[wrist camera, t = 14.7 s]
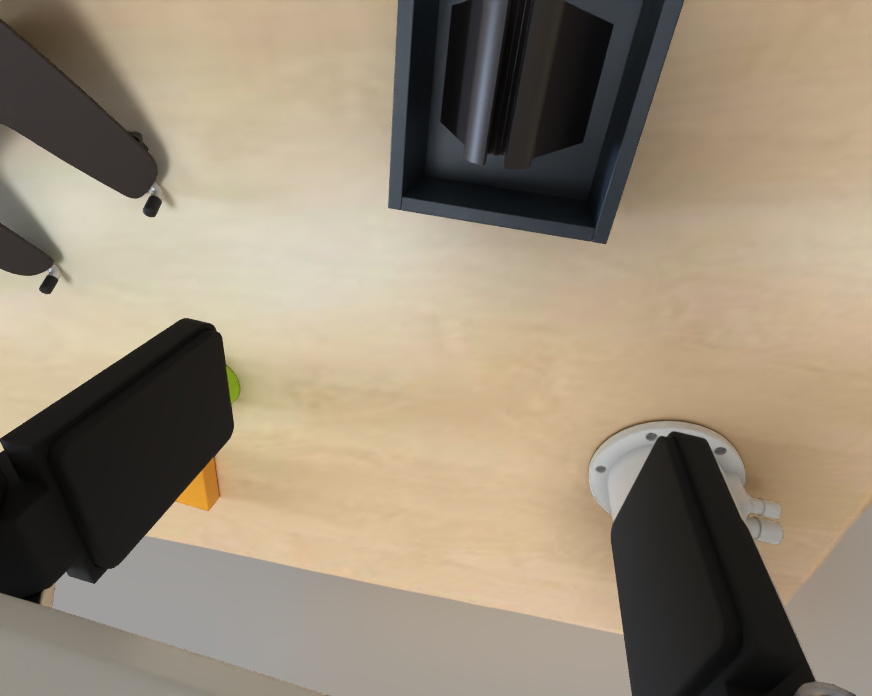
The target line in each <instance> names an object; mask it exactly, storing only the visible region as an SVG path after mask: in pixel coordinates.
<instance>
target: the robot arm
mask: <svg viewBox="0 0 872 696" xmlns="http://www.w3.org/2000/svg"><path fill="white" fill-rule="evenodd" d="M233 429H234V421H233V414H232V406H231V399H230V392H229V385H228V377H227V370H226V363H225V355H224V348H223V341H222V336H221V334H220V333H218V332H217V331H216V328H215V327H214V325H212V324H210V323H206V322H202V321H197V320H193V319H189V318H183V319H181V320H179V321H178V322H176V323H175V324H173V325H172V326H170V327H169V328H167V329H166V330H164V331H162V332H161V333H159V334H158V335H156V336H155V337H153V338H152V339H150V340H149V341H147V342H146V343H144V344H143V345H141V346H140V347H138V348H137V349H135V350H134V351H132V352H131V353H129V354H128V355H126V356H125V357H123V358H122V359H120V360H119V361H117V362H116V363H114V364H112V365H111V366H109V367H108V368H106V369H105V370H103V371H102V372H100V373H99V374H97V375H96V376H94V377H93V378H91V379H90V380H88V381H87V382H85V383H84V384H82V385H81V386H79V387H78V388H76V389H75V390H73V391H72V392H70V393H69V394H67V395H65V396H64V397H62V398H61V399H59V400H58V401H56V402H55V403H53V404H52V405H50V406H49V407H47V408H46V409H44V410H43V411H41V412H40V413H38V414H37V415H35V416H34V417H32V418H31V419H29V420H28V421H26V422H25V423H23V424H22V425H20V426H19V427H17V428H15V429H14V430H12V431H11V432H9V433H8V434H6V435H5V436H3V437H2V438H0V442H1V444H2V446H3V448H4V451H2V452H1V453H0V696H329V695H326V694H323V693H320V692H317V691H314V690H311V689H308V688H304V687H301V686H298V685H295V684H292V683H289V682H285V681H282V680H279V679H276V678H273V677H270V676H266V675H264V674H260V673H257V672H254V671H251V670H248V669H245V668H241V667H238V666H235V665H232V664H229V663H226V662H223V661H219V660H216V659H213V658H210V657H206V656H204V655H200V654H197V653H194V652H191V651H188V650H185V649H181V648H178V647H175V646H172V645H168V644H165V643H162V642H159V641H156V640H153V639H149V638H146V637H143V636H140V635H137V634H133V633H130V632H127V631H124V630H120V629H117V628H114V627H111V626H107V625H105V624H101V623H98V622H95V621H91V620H89V619H85V618H82V617H78V616H76V615H72V614H69V613H66V612H63V611H60V610H56V609H53V608H52V604H53V597H54V590H55V583H56V581H57V580H58V579H59V578H60V577H61V576H62V575H63V574H64V573H65V572H67V574H68V575H69V576H71V577H74V578H78V579H80V580H84V581H87V582H90V583H93V584H95V583H96V582H97V581H98V579H99V578H100V577H101V576H102V575H103V574H104V573H105V572H106V570H107V569H111V568H114V567H115V566H117V565H119V564H120V563H121V562H122V561H123V560H124V559H125V557H126V556H127V555H128V554H129V553H130V552H131V550H132V549H133V548H134V547H135V546H136V545H137V544H138V543H139V541H140V540H141V539H142V538H143V537H144V536H145V535H146V534H147V532H148V531H149V530H150V529H151V528H152V527H153V526H154V524H155V523H156V522H157V521H158V520H159V519H160V518H161V517H162V515H163V514H164V513H165V512H166V511H167V510H168V509H169V507H170V506H171V505H172V504H173V503H174V502H175V501H176V499H177V498H178V497H179V496H180V495H181V494H182V493H183V492H184V490H185V489H186V488H187V487H188V486H189V485H190V484H191V482H192V481H193V480H194V479H195V478H196V477H197V476H198V474H199V473H200V472H201V471H202V470H203V469H204V468H205V466H206V465H207V464H208V463H209V462H210V461H211V460H212V459H213V457H214V456H215V455H216V454H217V453H218V452H219V451H220V449H221V448H222V447H223V446H224V445H225V444H226V443H227V441H228V440H229V439H230V437H231V435H232V433H233ZM588 473H589V484H590V489H591V492H592V494H593V496H594V498H595V500H596V501H597V503H598V504H599V505H600V506H601V507H602V508H603V509H604V510H605V511H606V512H608V513H609V514H610V515H612V519H613V525H612V530H611V544H612V551H613V559H614V566H615V573H616V581H617V588H618V595H619V603H620V610H621V618H622V625H623V632H624V640H625V647H626V654H627V662H628V669H629V677H630V684H631V691H632V696H856V695H855V694H853V693H851V692H849V691H847V690H844V689H842V688H840V687H838V686H836V685H834V684H829V683H824V682H819V681H817V679H816V677H815V674H814V672H813V670H812V668H811V665H810V663H809V661H808V659H807V656H806V654H805V652H804V650H803V647H802V645H801V643H800V641H799V638H798V636H797V634H796V632H795V629H794V627H793V625H792V623H791V620H790V618H789V616H788V614H787V611H786V609H785V607H784V605H783V603H782V600H781V598H780V596H779V594H778V591H777V589H776V587H775V585H774V582H773V580H772V578H771V576H770V573H769V571H768V569H767V567H766V564H765V562H764V560H763V558H762V555H761V553H760V551H759V549H758V546H757V544H756V542H755V540H756V541H761V542H765V543H770V544H774V545H778V544H779V543H780V542H781V541H782V538H783V529H782V526H781V525H780V523H779V522H776V521H772V520H768V519H763V518H759V517H754V516H753V517H748V515H749V514H750V513H754V514H758V515H760V516H764V517H769V518H773V519H778V518H779V517H780V515H781V507H780V505H779V503H778V502H773V501H769V500H764V499H756V498H751V496H750V495H749V494H748V493H746V491H745V489H744V485H745V478H746V475H745V469H744V465H743V463H742V461H741V458H740V456H739V454H738V453H737V451H736V450H735V448H734V447H733V445H732V444H731V443H730V442H728V441H727V440H726V439H725V438H724V437H723V436H721V435H719V434H718V433H716V432H714V431H712V430H710V429H708V428H705V427H702V426H700V425H696V424H691V423H686V422H678V421H659V422H649V423H645V424H640V425H636V426H633V427H630V428H628V429H625V430H622V431H621V432H619V433H617V434H615V435H614V436H612V437H610V438H609V439H608V440H607V441H605V442H604V443H603V444H602V445H601V446H600V447H599V448H598V450H597V451H596V452H595V453H594V455H593V457H592V460H591V462H590V466H589V471H588Z"/></svg>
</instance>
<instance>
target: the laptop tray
mask: <svg viewBox="0 0 872 696" xmlns="http://www.w3.org/2000/svg"><path fill="white" fill-rule="evenodd" d="M0 123H1V124H4V125H6V126H8V127H10V128H12V129H13V130H15V131H17V132H18V133H20V134H22V135H23V136H25V137H26V138H28V139H30V140H31V141H33V142H34V143H36V144H37V145H39V146H41V147H42V148H44V149H45V150H47V151H49V152H50V153H52V154H54V155H55V156H57V157H58V158H60V159H62V160H63V161H65V162H67V163H68V164H70V165H72V166H74V167H75V168H77V169H79V170H80V171H82V172H84V173H86V174H87V175H89V176H91V177H93V178H94V179H96V180H98V181H100V182H102V183H103V184H105V185H107V186H109V187H110V188H112V189H114V190H116V191H118V192H119V193H121V194H123V195H125V196H127V197H130V198H140V197H142V196H143V195H144V194H145V193H147V191H148V190H149V191H150V192H151V196H150V197H149V198H148V200H147V202H146V204H145V206H144V208H143V213H144V214H145V215H146V216H148V217H155V216H156V214H157V212H158V210H159V208H160V206H161V204H162V200H163V192H162V190H161V188H160V187H159V185H158V184H157V183H156V182H155V180H156V178H157V174H158V170H157V165H156V163H155V161H154V159H153V157H152V156H151V154H150V153H149V152H148V147H147V146H146V145H145V144H144V143H143V139H142V135H141V134H140V133H139V132H130V131H127V130H126V129H124V128H123V127H122V126H121V125H120V124H119V123H118V122H117V121H116V120H115V119H114V118H113V117H111V116H110V115H109V114H108V113H107V112H106V111H105V110H104V109H103V108H102V107H101V106H100V105H98V104H97V103H96V102H95V101H94V100H93V99H92V98H91V97H90V96H89V95H87V94H86V93H85V92H84V91H83V90H82V89H81V88H80V87H79V86H77V85H76V84H75V83H74V82H73V81H72V80H71V79H70V78H68V77H67V76H66V75H65V74H64V73H63V72H62V71H61V70H59V69H58V68H57V67H56V66H55V65H54V64H53V63H52V62H50V61H49V60H48V59H47V58H46V57H45V56H44V55H42V54H41V53H40V52H39V51H38V50H37V49H36V48H34V47H33V46H32V45H31V44H30V43H29V42H27V41H26V40H25V39H24V38H23V37H22V36H20V35H19V34H18V33H17V32H16V31H14V30H13V29H12V28H11V27H10V26H9V25H7V24H6V23H5V22H4V21H3V20H2V19H0ZM0 269H2V270H5V271H7V272H10V273H13V274H17V275H24V276H32V275H37V274H40V273H42V272H45V271H46V270H48V271H49V274H48V275H47V276H46V278H45V280H44V281H43V283H42V285H41V286H40V288H39V290H40V291H41V292H42V293H44V294H50V293H51V292H52V290H53V289H54V287H55V285H56V284H57V282H58V279H59V278H60V275H61V274H60V270H59V268H58V267H57V266H56V265H55V264H54V261H53V259H52V258H51V257H50V256H49V255H47V254H46V253H44V252H43V251H41V250H40V249H38V248H37V247H36V246H34V245H33V244H31V243H30V242H28V241H27V240H25V239H24V238H22V237H21V236H19V235H18V234H16V233H15V232H13V231H12V230H10V229H9V228H7V227H6V226H4V225H3V224H1V223H0Z"/></svg>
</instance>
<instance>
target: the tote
mask: <svg viewBox="0 0 872 696" xmlns="http://www.w3.org/2000/svg"><path fill="white" fill-rule="evenodd" d="M464 1H467V0H398V14H397V35H396V56H395V76H394V97H393V117H392V138H391V158H390V179H389V199H388V208H391V209H397V210H403V211H409V212H415V213H421V214H427V215H433V216H439V217H445V218H451V219H458V220H464V221H470V222H476V223H482V224H488V225H494V226H500V227H506V228H512V229H518V230H524V231H530V232H536V233H542V234H548V235H554V236H560V237H566V238H572V239H578V240H584V241H592V242H596V243H602V244H606V243H607V240H608V237H609V234H610V230H611V227H612V224H613V221H614V218H615V215H616V212H617V209H618V205H619V202H620V199H621V196H622V193H623V190H624V187H625V184H626V180H627V177H628V174H629V171H630V168H631V165H632V162H633V158H634V155H635V152H636V149H637V146H638V143H639V140H640V137H641V133H642V130H643V127H644V124H645V121H646V118H647V115H648V112H649V108H650V105H651V102H652V99H653V96H654V93H655V90H656V87H657V83H658V80H659V77H660V74H661V71H662V68H663V65H664V62H665V58H666V55H667V52H668V49H669V46H670V43H671V40H672V37H673V33H674V30H675V27H676V24H677V21H678V18H679V15H680V12H681V8H682V5H683V2H684V0H565V1H566V2H568V3H570V4H572V5H574V6H576V7H578V8H580V9H582V10H584V11H586V12H589V13H591V14H593V15H595V16H597V17H599V18H601V19H603V20H605V21H607V22H610V23H612V24H614V26H613V30H612V34H611V37H610V41H609V45H608V49H607V53H606V57H605V60H604V64H603V68H602V72H601V76H600V80H599V83H598V87H597V91H596V95H595V99H594V102H593V106H592V110H591V114H590V118H589V122H588V125H587V129H586V133H585V137H584V141H583V143H581V144H577V145H574V146H571V147H568V148H565V149H561V150H558V151H555V152H552V153H549V154H546V155H542V156H539V157H536V158H533V159H532V163H531V167H530V168H527V169H505V168H503V167H504V161H505V157H503V156H500V155H490V154H487V159H486V165H479V164H475V163H472V162H469V161H467V160H465V159H464V158H463V153H464V144H463V143H462V142H461V141H460V140H459V139H457V138H456V137H455V136H454V135H453V134H452V133H451V132H450V131H449V130H448V129H447V128H446V127H445V126H444V125H443V124H442V123H441V122H440V119H441V109H442V99H443V89H444V80H445V70H446V60H447V50H448V40H449V30H450V20H451V11H452V5H455V4H458V3H461V2H464Z"/></svg>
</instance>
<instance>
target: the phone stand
mask: <svg viewBox="0 0 872 696" xmlns="http://www.w3.org/2000/svg"><path fill="white" fill-rule="evenodd" d="M613 26H614V24H612V23H610V22H607V21H605V20H603V19H601V18H599V17H597V16H595V15H593V14H591V13H589V12H586V11H584V10H582V9H580V8H578V7H576V6H574V5H572V4H570V3H568V2H566V1H565V0H467V1H464V2H461V3H458V4H455V5H452V11H451V20H450V30H449V40H448V50H447V60H446V70H445V80H444V89H443V99H442V109H441V119H440V122H441V123H442V124H443V125H444V126H445V127H446V128H447V129H448V130H449V131H450V132H451V133H452V134H453V135H454V136H455V137H456V138H457V139H459V140H460V141H461V142H462V143H463V144H464V153H463V158H464V159H465V160H467V161H469V162H472V163H475V164H479V165H486V159H487V154H490V155H500V156H503V157H505V161H504V167H503V168H505V169H527V168H530V167H531V163H532V159H533V158H536V157H539V156H542V155H546V154H549V153H552V152H555V151H558V150H561V149H565V148H568V147H571V146H574V145H577V144H581V143H583V141H584V137H585V133H586V129H587V125H588V122H589V118H590V114H591V110H592V106H593V102H594V99H595V95H596V91H597V87H598V83H599V80H600V76H601V72H602V68H603V64H604V60H605V57H606V53H607V49H608V45H609V41H610V37H611V34H612V30H613Z"/></svg>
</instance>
